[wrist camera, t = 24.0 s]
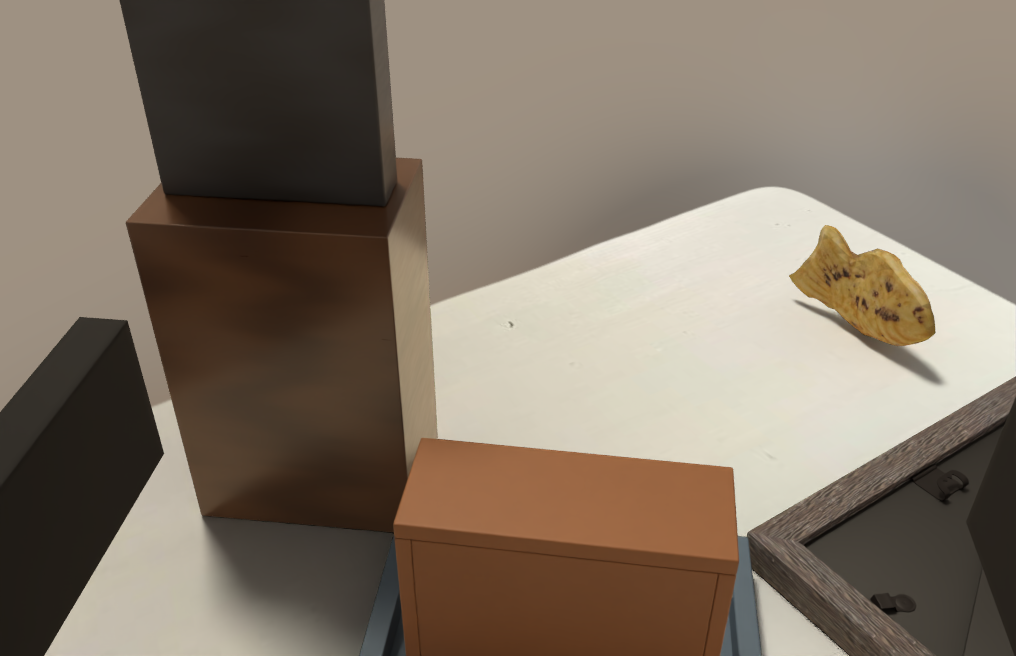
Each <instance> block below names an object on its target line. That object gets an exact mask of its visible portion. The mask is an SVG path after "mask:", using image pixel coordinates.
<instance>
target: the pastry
mask: <svg viewBox="0 0 1016 656" xmlns="http://www.w3.org/2000/svg"><path fill="white" fill-rule="evenodd" d="M789 277H790V278H791V280H792V281H793V283H794V284H795V285H796V286H797V287H798V288H799V289H800V290H801V291H802V292H803V293H804V294H805V295H807V296H808V297H811V298H816V299H818V300H819V301H821V302H822V303H824V304H825V305H826V306H827V307H829V308H832V309H835V310H836V311H837V312H838V313H839V314H840V315H841V316H842V317H843V318H844V319H845V320H846V321H847V322H848V323H850V324H851V325H852V326H853V327H855V328H856V329H857V330H859V331H860V332H861V333H862V334H863V335H866V336H869V337H873V338H876V339H878V340H880V341H883V342H886V343H889V344H892V345H896V346H906V345H911V344H916V343H919V342H923V341H925V340H928V339H929V338H930V337H931V336H933V335H934V334H935V321H934V315H933V313H932V309H931V305H930V302H929V299H928V297H927V295H926V293H925V292H924V290H923V289H922V287H921V286H920V285H919V283H918V282H917V281H915V280H914V279H913V278H912V277H911V276H910V274H909V273H908V272H907V271H906V269H905V268H904V267H903V265H902V263H901V261H900V259H899V258H897V257H896V256H895V255H894V254H891V253H889V252H887V251H884V250H881V249H875V250H872V251H869V252H865V253H862V254H859V255H857V254H855V253H853V252H851V250H850V248H849V246H848V244H847V242H846V241H845V239H844V237H843V236H842V235H841V233H840V232H839V231H838V230H837V229H836V228H834V227H832V226H828V225H825V226H824V227H823V228H822V230H821V232H820V236H819V241H818V245H817V246H816V248H815V250H814V251H813V253H812V254H811V255H810V257H809V258H808V259H807V260H806V261H805V262H804V263H803V265H802V266H801V267H800V268H799V269H798V270H797V271H796V272H795V273H793V274H791V275H789Z"/></svg>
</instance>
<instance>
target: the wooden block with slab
mask: <svg viewBox="0 0 1016 656" xmlns="http://www.w3.org/2000/svg"><path fill="white" fill-rule="evenodd" d="M120 4H121V8H122V13H123V17H124V21H125V26H126V30H127V34H128V39H129V43H130V48H131V52H132V57H133V61H134V65H135V70H136V74H137V78H138V83H139V87H140V91H141V95H142V99H143V104H144V109H145V113H146V117H147V122H148V126H149V131H150V135H151V139H152V144H153V148H154V153H155V157H156V161H157V165H158V170H159V174H160V179H161V183H160V185H159V186H158V187H157V188H156V189H155V190H154V191H153V192H152V194H151V195H150V196H149V197H148V198H147V199H146V200H145V201H144V202H143V204H142V205H141V206H140V207H139V208H138V209H137V210H136V211H135V212H134V213H133V214H132V216H131V217H130V218H129V219H128V220H127V221H126V226H127V230H128V234H129V237H130V241H131V245H132V249H133V253H134V256H135V260H136V264H137V268H138V272H139V276H140V280H141V283H142V287H143V291H144V295H145V299H146V303H147V307H148V311H149V314H150V318H151V322H152V326H153V330H154V334H155V338H156V342H157V345H158V349H159V353H160V357H161V361H162V364H163V368H164V372H165V376H166V380H167V384H168V388H169V392H170V395H171V399H172V403H173V407H174V411H175V415H176V419H177V422H178V426H179V430H180V434H181V438H182V442H183V446H184V449H185V453H186V457H187V461H188V465H189V469H190V473H191V476H192V480H193V484H194V488H195V492H196V496H197V499H198V503H199V507H200V511H201V515H203V516H214V517H226V518H237V519H248V520H260V521H271V522H282V523H294V524H305V525H316V526H328V527H339V528H350V529H362V530H373V531H384V532H394V528H393V523H394V520H395V517H396V514H397V510H398V507H399V504H400V501H401V498H402V495H403V492H404V489H405V486H406V483H407V480H408V477H409V474H410V470H411V467H412V464H413V461H414V458H415V455H416V452H417V449H418V446H419V443H420V440H421V438H432V439H437V438H438V434H437V417H436V399H435V381H434V363H433V346H432V328H431V310H430V293H429V275H428V257H427V240H426V222H425V205H424V187H423V169H422V160H421V159H412V158H396V155H395V140H394V127H393V113H392V101H391V100H392V99H391V86H390V72H389V59H388V46H387V31H386V18H385V4H384V0H120Z"/></svg>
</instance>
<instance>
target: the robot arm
mask: <svg viewBox="0 0 1016 656" xmlns="http://www.w3.org/2000/svg"><path fill="white" fill-rule="evenodd" d="M163 454H164V452H163V448H162V444H161V441H160V437H159V433H158V430H157V426H156V423H155V419H154V415H153V412H152V408H151V404H150V401H149V397H148V394H147V390H146V387H145V383H144V379H143V376H142V372H141V368H140V365H139V361H138V357H137V354H136V351H135V347H134V343H133V339H132V336H131V332H130V328H129V325H128V321H127V320H113V319H99V318H84V317H79V319H78V320H77V321H76V322H75V323H74V325H73V326H72V327H71V328H70V329H69V331H68V332H67V333H66V335H64V337H63V338H62V339H61V340H60V341H59V343H58V344H57V345H56V346H55V347H54V349H53V350H52V351H51V352H50V353H49V355H48V356H47V357H46V358H45V359H44V360H43V362H42V363H41V364H40V365H39V367H38V368H37V369H36V370H35V371H34V372H33V374H32V375H31V376H30V377H29V378H28V380H27V381H26V382H25V383H24V385H23V386H22V387H21V388H20V389H19V390H18V392H17V393H16V394H15V395H14V396H13V398H12V399H11V400H10V401H9V402H8V404H7V405H6V406H5V407H4V408H3V409H2V411H1V412H0V656H44V655H45V653H46V652H47V650H48V648H49V647H50V645H51V643H52V642H53V640H54V638H55V637H56V635H57V633H58V631H59V630H60V628H61V626H62V625H63V623H64V621H65V620H66V618H67V616H68V615H69V613H70V611H71V610H72V608H73V606H74V604H75V603H76V601H77V599H78V598H79V596H80V594H81V593H82V591H83V589H84V588H85V586H86V584H87V583H88V581H89V579H90V577H91V576H92V574H93V572H94V571H95V569H96V567H97V566H98V564H99V562H100V561H101V559H102V557H103V556H104V554H105V552H106V551H107V549H108V547H109V545H110V544H111V542H112V540H113V539H114V537H115V535H116V534H117V532H118V530H119V529H120V527H121V525H122V524H123V522H124V520H125V518H126V517H127V515H128V513H129V512H130V510H131V508H132V507H133V505H134V503H135V502H136V500H137V498H138V497H139V495H140V493H141V491H142V490H143V488H144V486H145V485H146V483H147V481H148V480H149V478H150V476H151V475H152V473H153V471H154V470H155V468H156V466H157V465H158V463H159V461H160V459H161V458H162V456H163ZM966 523H967V526H968V529H969V531H970V534H971V537H972V540H973V542H974V545H975V548H976V551H977V553H978V556H979V559H980V562H981V564H982V567H983V570H984V573H985V576H986V578H987V581H988V584H989V587H990V589H991V592H992V595H993V598H994V600H995V603H996V606H997V609H998V612H999V614H1000V617H1001V620H1002V623H1003V625H1004V628H1005V631H1006V634H1007V636H1008V639H1009V642H1010V645H1011V648H1012V650H1013V653H1014V656H1016V397H1015V400H1014V402H1013V405H1012V407H1011V410H1010V412H1009V415H1008V417H1007V420H1006V422H1005V425H1004V427H1003V430H1002V432H1001V435H1000V437H999V440H998V442H997V445H996V447H995V450H994V452H993V455H992V457H991V460H990V463H989V465H988V468H987V470H986V473H985V475H984V478H983V480H982V483H981V485H980V488H979V490H978V493H977V495H976V498H975V500H974V503H973V505H972V508H971V510H970V513H969V515H968V518H967V520H966Z"/></svg>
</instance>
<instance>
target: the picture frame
mask: <svg viewBox="0 0 1016 656" xmlns="http://www.w3.org/2000/svg"><path fill="white" fill-rule="evenodd" d="M1015 397H1016V377H1014V378H1012V379H1011V380H1009V381H1007V382H1005V383H1004V384H1002V385H1000V386H998V387H997V388H995V389H993V390H992V391H990V392H988V393H986V394H985V395H983V396H981V397H980V398H978V399H976V400H974V401H973V402H971V403H969V404H968V405H966V406H964V407H962V408H961V409H959V410H957V411H955V412H954V413H952V414H950V415H949V416H947V417H945V418H943V419H942V420H940V421H938V422H937V423H935V424H933V425H931V426H930V427H928V428H926V429H924V430H923V431H921V432H919V433H918V434H916V435H914V436H912V437H911V438H909V439H907V440H906V441H904V442H902V443H900V444H899V445H897V446H895V447H894V448H892V449H890V450H888V451H887V452H885V453H883V454H881V455H880V456H878V457H876V458H875V459H873V460H871V461H869V462H868V463H866V464H864V465H863V466H861V467H859V468H857V469H856V470H854V471H852V472H851V473H849V474H847V475H845V476H844V477H842V478H840V479H838V480H837V481H835V482H833V483H832V484H830V485H828V486H826V487H825V488H823V489H821V490H820V491H818V492H816V493H814V494H813V495H811V496H809V497H808V498H806V499H804V500H802V501H801V502H799V503H797V504H795V505H794V506H792V507H790V508H789V509H787V510H785V511H783V512H782V513H780V514H778V515H777V516H775V517H773V518H771V519H770V520H768V521H766V522H765V523H763V524H761V525H759V526H758V527H756V528H754V529H752V530H751V531H749V532H748V534H747V538H748V540H749V549H750V558H751V567H752V568H753V569H754V570H755V571H756V572H757V573H758V574H759V575H760V576H762V577H763V578H764V579H765V580H766V581H767V582H768V583H769V584H771V585H772V586H773V587H774V588H775V589H776V590H777V591H778V592H780V593H781V594H782V595H783V596H784V597H785V598H786V599H787V600H789V601H790V602H791V603H792V604H793V605H794V606H795V607H796V608H798V609H799V610H800V611H801V612H802V613H803V614H804V615H805V616H807V617H808V618H809V619H810V620H811V621H812V622H813V623H814V624H816V625H817V626H818V627H819V628H820V629H821V630H822V631H823V632H825V633H826V634H827V635H828V636H829V637H830V638H831V639H832V640H833V641H835V642H836V643H837V644H838V645H839V646H840V647H841V648H842V649H844V650H845V651H846V652H847V653H848V654H849V655H850V656H1014V653H1013V650H1012V648H1011V645H1010V642H1009V639H1008V636H1007V634H1006V631H1005V628H1004V625H1003V623H1002V620H1001V617H1000V614H999V612H998V609H997V606H996V603H995V600H994V598H993V595H992V592H991V589H990V587H989V584H988V581H987V578H986V576H985V573H984V570H983V567H982V564H981V562H980V559H979V556H978V553H977V551H976V548H975V545H974V542H973V540H972V537H971V534H970V531H969V529H968V526H967V523H966V520H967V518H968V515H969V513H970V510H971V508H972V505H973V503H974V500H975V498H976V495H977V493H978V490H979V488H980V485H981V483H982V480H983V478H984V475H985V473H986V470H987V468H988V465H989V463H990V460H991V457H992V455H993V452H994V450H995V447H996V445H997V442H998V440H999V437H1000V435H1001V432H1002V430H1003V427H1004V425H1005V422H1006V420H1007V417H1008V415H1009V412H1010V410H1011V407H1012V405H1013V402H1014V400H1015Z"/></svg>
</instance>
